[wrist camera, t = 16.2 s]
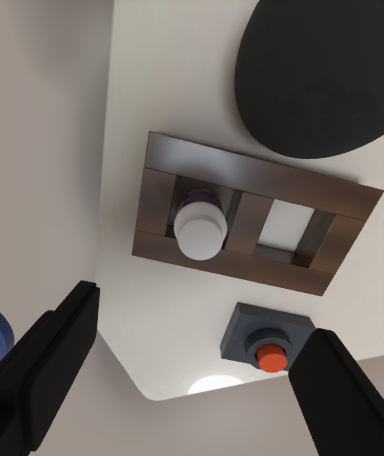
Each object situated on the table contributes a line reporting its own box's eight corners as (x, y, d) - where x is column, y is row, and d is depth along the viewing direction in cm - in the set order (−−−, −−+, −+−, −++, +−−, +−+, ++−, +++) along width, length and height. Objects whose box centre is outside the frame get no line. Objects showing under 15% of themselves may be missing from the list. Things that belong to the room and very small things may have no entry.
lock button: (252, 358, 32) (255, 370, 31) (261, 340, 31) (265, 351, 29) (276, 363, 33) (281, 375, 31) (287, 345, 31) (292, 357, 29)
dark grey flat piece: (220, 346, 37) (222, 369, 33) (237, 302, 33) (242, 322, 29) (284, 359, 37) (294, 383, 33) (309, 317, 33) (323, 339, 30)
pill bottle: (176, 190, 26) (165, 214, 17) (219, 185, 26) (230, 208, 17) (182, 229, 28) (174, 269, 19) (222, 225, 28) (232, 265, 19)
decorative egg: (354, 122, 23) (592, 91, 9) (247, 172, 25) (307, 207, 11) (330, -15, 19) (692, -448, 5) (205, 59, 21) (218, -98, 7)
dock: (307, 278, 31) (322, 296, 27) (140, 241, 29) (131, 255, 26) (357, 183, 25) (384, 190, 22) (156, 132, 24) (148, 130, 20)
